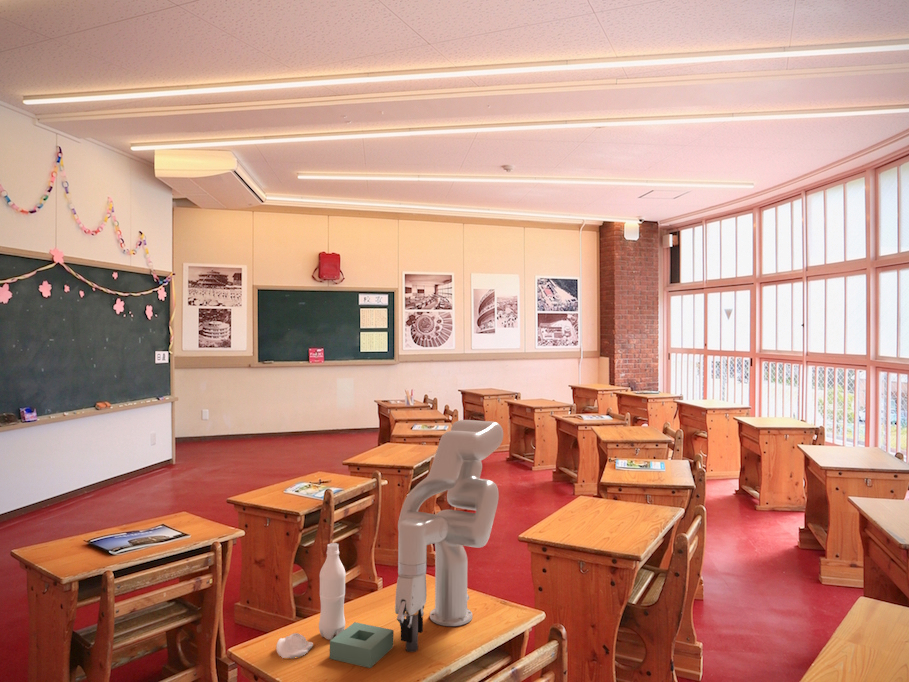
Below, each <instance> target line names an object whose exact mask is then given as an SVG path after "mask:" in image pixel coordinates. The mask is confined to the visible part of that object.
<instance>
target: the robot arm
mask: <svg viewBox="0 0 909 682" xmlns="http://www.w3.org/2000/svg"><path fill="white" fill-rule="evenodd" d="M452 423H453V424H452V426H451V428H450V430H448V431H446V432H444V433H443V434H442V435H441V437H440V440H439V443H438V446H437V450H436V452H435V455H434V458H433V460H432V464H431V467H430V470H429V473H428V474H427V476H426V477H425V478H424V479H422V480H421V481H419V483H417V484H416V485H415V486H414V487H413V488H412V489H411V490H410V491H409V493H408V494H407V495H406V498H405V499H404V502H403V504H402V507H401V510H400V513H399V517H398V522H397V530H398V540H397V541H398V544H397V546H398V549H397V550H398V553H397V554H398V556H397V557H398V558H397V559H398V561H397V565H398V566H397V573H398V576H397V580H396V581H397V582H396V587H395V588H396V589H395V603H394V604H395V606H394V611H395V612H394V613H395V614H396V615H397V616H396V621H398V623H399V626H400V641H401V642H405V643H406V642H409V643H411V642H412V638H413V627H412V626H411V623H412V616H413V615H414V614H415V613H416V612H417V611H418V634H422V633H423V631H424V628H423V626H424V623H423V622H424V614H425V613H424V609H425V606H426V603H427V576H426V575H427V555H428V554H427V553H428V552H427V546H428V545H433V544H434V549H435V565H434V566H435V570H434V571H435V575H434V576H435V579H434V580H435V581H434V585H435V588H434V589H435V590H434V592H435V594H434V595H435V598H434V604H435V605H434V607H435V608H433V609H432V610H431V611H430V612H429V618H430V619H429V620H431V621H432V623H434V624H436V625H440V626H444V627H445V626H446V627H459V626H463V625H466V624H468V623H470V621H472V620H473V612H472V611H471V610H470V609H469V608H468V601H469V600H470V595H469V594H468V555H467V551H466V549H465V547H471V548H477V549H478V548H484V546H486V545H487V544H488V541H489V539H490V536H491V532H492V528H493V525H494V522H495V521H494V520H495V516H496V512H497V508H498V504H499V494H500V493H499V488H498V485H497V484H496V483H495V482H494V481H493V480H490V479H487V478H481V475H482V470H483V463H482V461H483V460H485V459H486V458H488V457H489V456H490V455H491V454H493V453H494V452H495V451H496V450H497V449H498V448H500V446H501V445H502V442H503V439H504V430H503V427H502V425H501V424H499V422H496V421H491V420H490V421H489V420H477V419H476V420H475V419H461V420H460V419H459V420H457V421H454V422H452ZM446 491H447V494H446V501H447V503H448V505H450V506H451V507H454V508H456V509H443V510H440V511H438V512H437V513H428V512H424V511H423V512H422V511H419V510H420V507H421V506H422V504H424V503H425V502H426V501H427V500H428V499H430V498H431V497H433V496H435V495H438V494H441V493H444V492H446ZM457 508H458V509H463V510H464V511H463V510H457ZM465 510H471V511H475V512H468V511H465ZM406 611H407V612H408V614H407V613H406ZM406 617H409V618H408V621H407V619H406Z"/></svg>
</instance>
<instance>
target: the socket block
mask: <svg viewBox="0 0 909 682" xmlns="http://www.w3.org/2000/svg"><path fill="white" fill-rule="evenodd" d="M393 648H394V629H391V628H390V629H389V628H385V627H382V626H381V627H379V626H375V625H370V624H366V623H360V622H356V621H355V622H353V623H352V624H350V625H349V626H348V627H345V629H344V631H342V632H341V633H340V634H338V635H337V636H336V635H335V636H333V638H332V639H330V640H329V659H330V660H334V661H339V662H343V663H347V664H351V665H356V666H360V667H363V668H364V667H365V668H368V669H371V668H372V667H373V666H375V664H377V663H378V662H379V661H380V660H381V659H382V658H383V657H384V656H385V655H386V654H387V653H389V652H390V651H391V650H392V649H393Z"/></svg>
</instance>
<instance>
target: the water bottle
mask: <svg viewBox="0 0 909 682" xmlns="http://www.w3.org/2000/svg"><path fill="white" fill-rule="evenodd" d="M326 547H327V548H326V553H325V554H326V559H325V560H324V561H325V562H324V563H323V565H322V567H321V568H320V571H319V597H320V598H319V599H320V600H319V601H320V615H319V621H318V622H319V623H318V630H319V634H320V636H321V637H323V638H325V639H326V640H329V641H330V640H332V639H333V638H334V637H336V636H337V635H338V634H340V633H341V632H342V631H344V630H345V629H346V619H345V609H344V608H345V606H344V605H345V595H346V575H347V574H346V570H345V566H344V565H343V563H342V561H341V559H340V556H339V555H340V551H339V550H340V549H339V543H336V542H331V543H328V544H327V546H326Z"/></svg>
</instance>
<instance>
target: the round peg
mask: <svg viewBox="0 0 909 682" xmlns="http://www.w3.org/2000/svg"><path fill="white" fill-rule="evenodd" d="M405 613H407V614H408V612H407V611H405ZM408 618H409V617H406V616H405V619H407V621H408ZM411 626H412V627H413V638H412V642H411V643H409V642H405V650H406V652H409V653H415V652H417V651H418V648H419V632H418V611H417V612H416V613H415V614H414V615H413V616H412V623H411Z"/></svg>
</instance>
